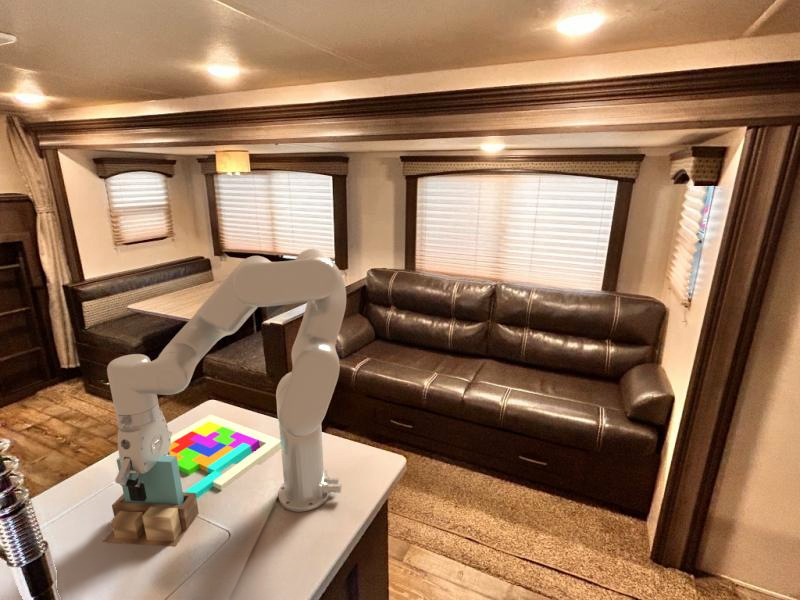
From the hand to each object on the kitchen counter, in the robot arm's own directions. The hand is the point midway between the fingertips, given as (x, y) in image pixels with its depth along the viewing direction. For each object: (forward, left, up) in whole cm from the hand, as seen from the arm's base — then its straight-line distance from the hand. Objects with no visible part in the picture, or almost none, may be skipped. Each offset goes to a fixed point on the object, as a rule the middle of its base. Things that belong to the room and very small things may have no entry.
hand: (151, 485), depth 91 cm
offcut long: (-4, +4, -9) cm, 11 cm away
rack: (0, +2, -10) cm, 10 cm away
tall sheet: (0, 0, -9) cm, 9 cm away
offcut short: (+3, +4, -9) cm, 11 cm away
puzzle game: (+1, -21, -11) cm, 24 cm away
